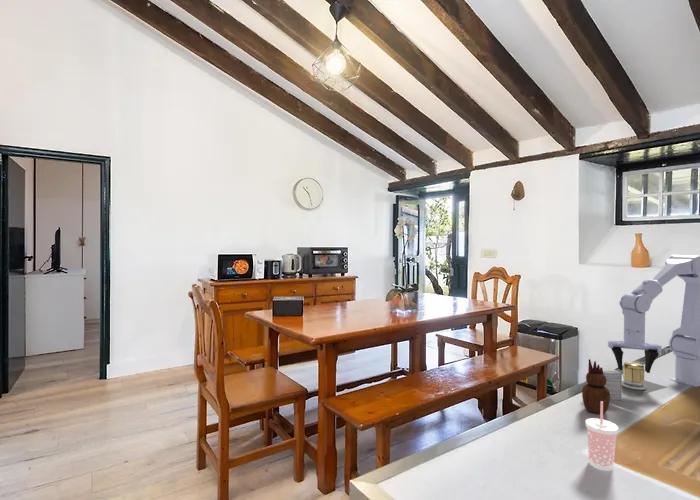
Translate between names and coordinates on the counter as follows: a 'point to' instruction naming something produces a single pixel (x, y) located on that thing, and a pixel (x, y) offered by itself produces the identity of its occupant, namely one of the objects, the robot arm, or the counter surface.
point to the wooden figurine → (595, 390)
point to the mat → (650, 388)
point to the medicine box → (613, 383)
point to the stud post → (634, 385)
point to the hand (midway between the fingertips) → (633, 370)
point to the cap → (633, 372)
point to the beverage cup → (601, 442)
